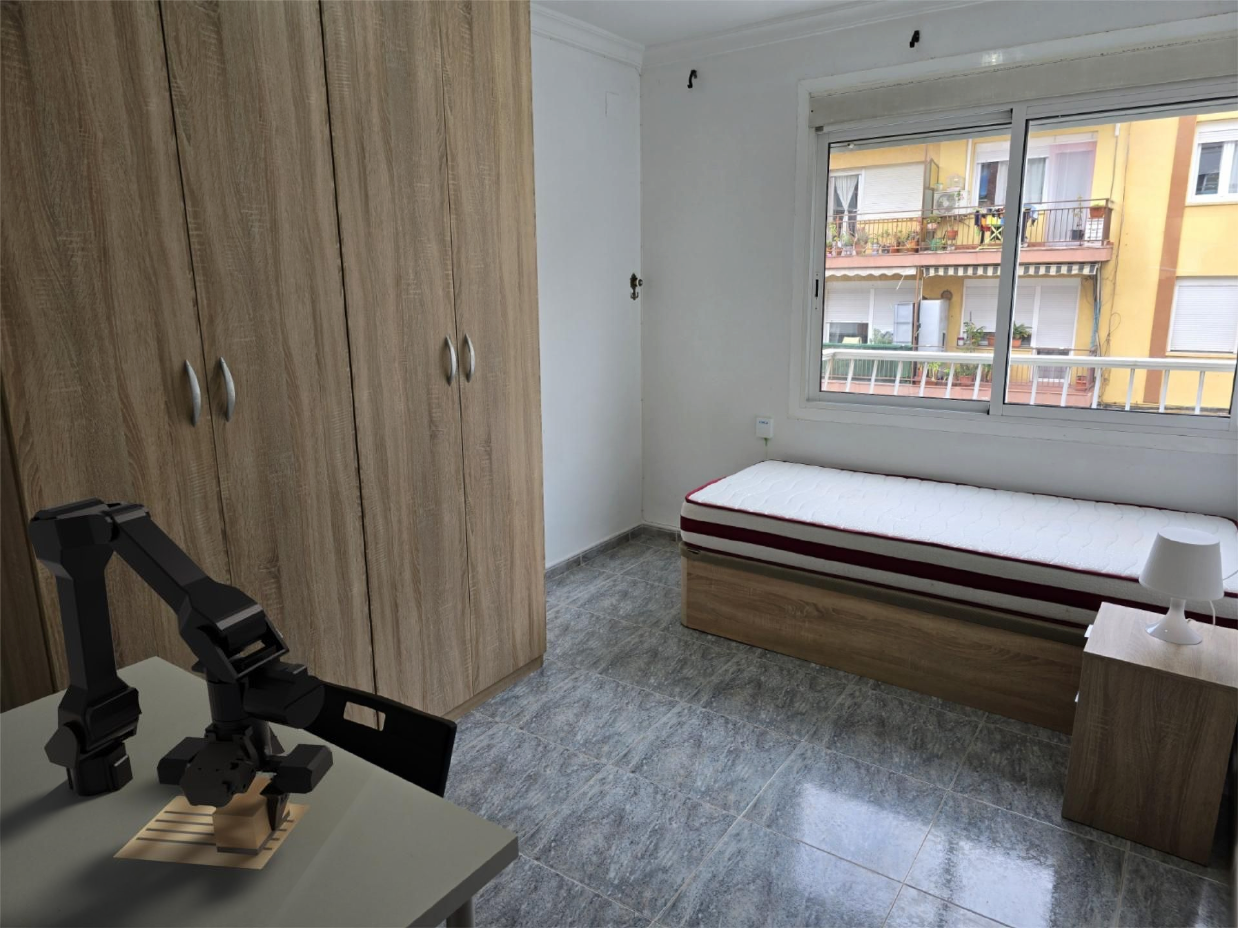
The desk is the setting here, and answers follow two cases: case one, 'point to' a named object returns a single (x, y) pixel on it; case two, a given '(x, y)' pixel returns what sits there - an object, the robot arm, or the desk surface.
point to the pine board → (197, 838)
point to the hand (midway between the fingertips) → (254, 826)
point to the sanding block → (245, 821)
